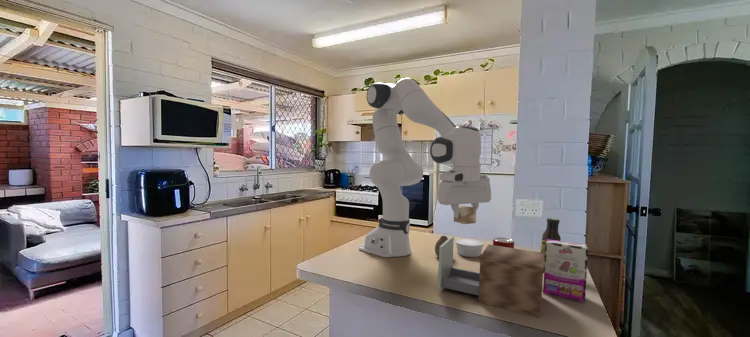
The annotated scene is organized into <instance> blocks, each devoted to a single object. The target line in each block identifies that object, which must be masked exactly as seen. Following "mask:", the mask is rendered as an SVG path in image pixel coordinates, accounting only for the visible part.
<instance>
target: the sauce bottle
mask: <svg viewBox="0 0 750 337" xmlns="http://www.w3.org/2000/svg"><path fill="white" fill-rule="evenodd" d="M559 224H560V219H559V218H557V217H547V218H546V228H545V231H543V234H542V236H541V242H540V251H539V252H540V253H544V264H543V272H544V266H545V245H546V241H547V239H550V240H557V241H562V240H561V236H560V233H559Z"/></svg>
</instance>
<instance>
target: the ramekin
mask: <svg viewBox="0 0 750 337" xmlns="http://www.w3.org/2000/svg"><path fill="white" fill-rule="evenodd" d="M455 244H456V251H457V253H458V254H459V255H460V256H462V257H466V258H478V257H480V256H481V255H482V253H483V251H482V250H483V247H484V242H482V241H480V240H479V239H473V238H458V239H456V240H455Z"/></svg>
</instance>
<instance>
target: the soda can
mask: <svg viewBox="0 0 750 337" xmlns="http://www.w3.org/2000/svg"><path fill="white" fill-rule="evenodd" d="M492 245H495V246H502V247H508V248H515V241H514V240H513V239H512V238H507V237H503V236H502V237H498V236H497V237H495V238H493V239H492Z"/></svg>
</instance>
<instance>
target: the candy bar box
mask: <svg viewBox="0 0 750 337" xmlns="http://www.w3.org/2000/svg"><path fill="white" fill-rule="evenodd" d="M588 252H589V248H588V244H584V243H577V242H571V241H562V240H561V241H557V240H550V239H547V241H546V245H545V266H544V271H543V284H542V294H544V295H549V296H553V297H558V298H562V299H563V298H564V299H567V300H572V301H576V302H581V303H585V302H586V295H587V294H586V291H587V290H586V288H587V273H588V271H587V270H588V254H589V253H588Z"/></svg>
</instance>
